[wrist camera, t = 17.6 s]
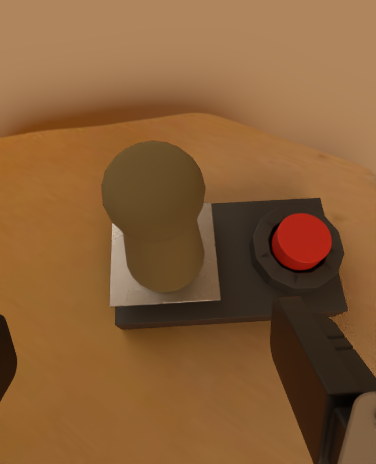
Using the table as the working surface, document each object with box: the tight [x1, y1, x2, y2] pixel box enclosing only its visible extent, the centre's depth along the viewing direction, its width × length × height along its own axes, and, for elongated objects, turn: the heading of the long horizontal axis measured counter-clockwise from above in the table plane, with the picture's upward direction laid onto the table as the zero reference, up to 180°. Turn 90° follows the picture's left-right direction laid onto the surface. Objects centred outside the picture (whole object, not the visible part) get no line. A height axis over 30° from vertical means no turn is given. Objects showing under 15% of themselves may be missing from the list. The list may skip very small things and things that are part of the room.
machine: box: [115, 198, 348, 330], centre depth 28 cm, size 18×10×4 cm, turn 93°
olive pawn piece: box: [102, 141, 205, 293], centre depth 20 cm, size 6×6×11 cm
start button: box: [272, 213, 332, 271], centre depth 26 cm, size 4×4×2 cm
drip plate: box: [110, 202, 221, 307], centre depth 26 cm, size 8×8×1 cm
